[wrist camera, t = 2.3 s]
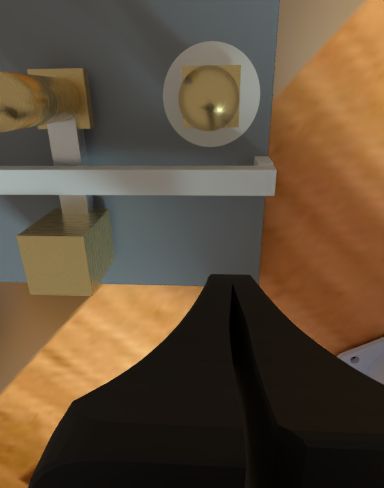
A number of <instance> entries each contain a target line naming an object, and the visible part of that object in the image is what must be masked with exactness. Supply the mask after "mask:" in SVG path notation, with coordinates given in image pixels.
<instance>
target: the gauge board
mask: <svg viewBox="0 0 384 488" xmlns="http://www.w3.org/2000/svg"><path fill="white" fill-rule="evenodd" d="M279 2H280V0H0V71H1V72H11V73H20V74H28V72H27V69H62V68H85V69H88V73H89V81H90V90H91V98H92V106H93V114H94V123H95V128H91V129H84V135H85V142H86V149H87V157H88V164H89V166H54V163H53V157H52V152H51V146H50V140H49V134H48V129H38V126H34V127H29V128H23V129H18V130H12V131H7V132H1V133H0V282H27V279H26V275H25V270H24V266H23V262H22V258H21V254H20V249H19V245H18V241H17V237H16V236H17V235H18V234H20V233H21V232H22V231H24V230H25V229H27V228H28V227H29V226H31V225H32V224H34V223H35V222H36V221H38V220H39V219H41V218H42V217H43V216H45V215H46V214H48V213H49V212H50V211H52V210H53V209H55V208H61V203H60V197H59V195H93V202H94V209H109V212H110V220H111V229H112V238H113V246H114V255H115V260H114V261H113V263H112V265H111V266H110V268H109V269H108V271H107V273H106V274H105V276H104V278H103V279H102V281H101V283H100V284H132V285H179V286H205V284H206V282H207V278H208V277H209V276H210V275H211V274H240V275H251V276H252V277H253V279H254V280H255V281H256V283H257V284H259V270H260V257H261V243H262V230H263V217H264V203H265V196H275V185H276V173H277V169H276V168H275V167H274V163H273V162H272V160H271V159H270V158H269V157H268V150H269V137H270V123H271V110H272V96H273V83H274V70H275V56H276V43H277V30H278V29H277V28H278V16H279ZM204 65H241V79H240V104H239V127H229V128H221V129H218V130H215V131H202V130H198V129H196V128H183V115H182V113H181V111H180V108H179V101H178V96H179V90H180V87H181V84H182V66H204Z"/></svg>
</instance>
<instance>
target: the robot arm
mask: <svg viewBox="0 0 384 488" xmlns="http://www.w3.org/2000/svg"><path fill="white" fill-rule="evenodd" d="M355 356H356V358H354V359H351V358H352V357H355ZM28 488H384V337H383V338H380V339H377V340H375V341H372V342H369V343H367V344H364V345H361V346H359V347H356V348H353V349H351V350H348V351H345V352H343V353H340V354H339V355H338V356H337V357H336V356H335V355H333V354H332V353H330V352H329V351H327V350H326V349H324V348H323V347H322V346H320V345H319V344H318V343H316V342H315V341H314V340H313V339H311V338H310V337H309V336H307V335H306V334H305V333H304V332H303V331H301V330H300V329H299V328H298V327H297V326H296V325H295V324H293V323H292V322H291V321H290V320H289V319H288V318H287V317H286V316H285V315H284V314H283V313H282V312H281V311H280V310H279V309H278V307H277V306H276V305H275V304H274V303H273V302H272V301H271V300H270V299H269V297H268V296H267V295H266V294H265V293H264V291H263V290H262V289H261V288H260V286H259V285H258V284H257V283H256V281H255V280H254V279H253V277H252V276H251V275H240V274H211V275H210V276H209V277H208V278H207V282H206V284H205V286H204V288H203V290H202V292H201V294H200V295H199V297H198V299H197V300H196V302H195V303H194V305H193V306H192V308H191V309H190V311H189V312H188V313H187V314H186V316H185V317H184V318H183V320H182V321H181V322H180V323H179V325H178V326H177V327H176V328H175V329H174V330H173V331H172V332H171V333H170V335H169V336H168V337H167V338H166V339H165V340H164V341H163V342H162V343H160V344H159V345H158V346H157V347H156V348H155V349H154V350H153V351H152V352H150V353H149V354H148V355H147V356H146V357H144V358H143V359H142V360H141V361H139V362H138V363H137V364H135V365H134V366H132V367H131V368H130V369H128V370H127V371H125V372H124V373H122V374H121V375H119V376H118V377H116V378H114V379H113V380H111V381H109V382H108V383H106V384H104V385H102V386H100V387H99V388H97V389H95V390H93V391H91V392H90V393H88V394H86V395H84V396H82V397H80V398H78V399H76V400H74V401H73V402H72V403H71V405H70V407H69V408H68V410H67V411H66V413H65V415H64V416H63V418H62V419H61V421H60V422H59V424H58V426H57V427H56V429H55V431H54V432H53V434H52V436H51V438H50V440H49V442H48V444H47V446H46V448H45V450H44V452H43V454H42V457H41V459H40V461H39V463H38V465H37V467H36V469H35V471H34V473H33V476H32V478H31V480H30V483H29V486H28Z"/></svg>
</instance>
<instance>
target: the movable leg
mask: <svg viewBox="0 0 384 488" xmlns="http://www.w3.org/2000/svg"><path fill="white" fill-rule="evenodd" d="M27 72H28V74H20V73H11V72H1V71H0V133H1V132H7V131H12V130H18V129H23V128H29V127H34V126H38V129H48V134H49V140H50V146H51V152H52V157H53V163H54V166H89V164H88V157H87V149H86V142H85V135H84V129H91V128H95V123H94V114H93V106H92V98H91V90H90V81H89V73H88V69H85V68H62V69H27ZM59 197H60V203H61V208H55V209H53V210H52V211H50V212H49V213H48V214H46V215H45V216H43V217H42V218H41V219H39V220H38V221H36V222H35V223H34V224H32V225H31V226H29V227H28V228H27V229H25V230H24V231H22V232H21V233H20V234H18V235H17V236H16V237H17V241H18V245H19V249H20V254H21V258H22V262H23V266H24V270H25V275H26V279H27V283H28V287H29V291H30V294H33V295H76V296H77V295H78V296H93V294H94V292H95V291H96V289H97V287H98V286H99V284H100V283H101V281H102V279H103V278H104V276H105V274H106V273H107V271H108V269H109V268H110V266H111V265H112V263H113V261H114V260H115V255H114V246H113V238H112V229H111V220H110V212H109V209H94V202H93V195H59Z"/></svg>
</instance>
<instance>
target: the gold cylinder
mask: <svg viewBox="0 0 384 488" xmlns="http://www.w3.org/2000/svg"><path fill="white" fill-rule="evenodd" d="M240 79H241V65H204V66H182V84H181V87H180V90H179V96H178V101H179V108H180V111H181V113H182V115H183V128H196V129H198V130H202V131H215V130H218V129H221V128H229V127H239V104H240Z"/></svg>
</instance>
